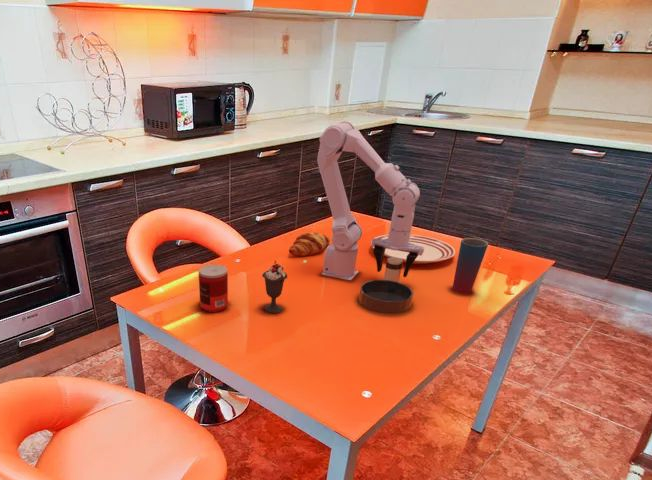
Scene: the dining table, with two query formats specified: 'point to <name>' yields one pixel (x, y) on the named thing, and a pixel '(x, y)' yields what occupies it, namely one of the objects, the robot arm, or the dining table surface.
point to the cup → (468, 264)
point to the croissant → (309, 244)
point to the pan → (385, 296)
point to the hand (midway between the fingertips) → (392, 273)
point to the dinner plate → (432, 249)
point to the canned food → (213, 287)
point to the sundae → (274, 286)
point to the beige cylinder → (393, 269)
